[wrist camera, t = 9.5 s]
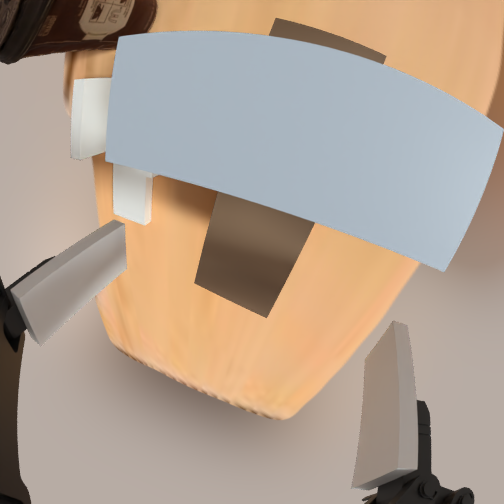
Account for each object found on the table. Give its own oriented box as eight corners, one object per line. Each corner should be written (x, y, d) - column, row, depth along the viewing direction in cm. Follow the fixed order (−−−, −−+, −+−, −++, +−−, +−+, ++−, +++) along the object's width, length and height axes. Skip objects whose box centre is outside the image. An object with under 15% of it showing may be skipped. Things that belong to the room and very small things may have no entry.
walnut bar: (303, 54, 15) (275, 17, 8) (368, 79, 14) (386, 56, 7) (241, 227, 22) (194, 282, 16) (293, 250, 22) (266, 318, 15)
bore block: (234, 65, 16) (118, 36, 7) (416, 116, 14) (503, 129, 5) (221, 129, 19) (105, 161, 9) (394, 183, 17) (444, 272, 7)
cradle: (107, 77, 19) (74, 79, 15) (194, 79, 17) (163, 77, 14) (102, 203, 26) (74, 218, 22) (175, 229, 24) (149, 250, 21)
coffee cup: (169, -36, 12) (50, -78, 1) (178, 36, 16) (30, 13, 5) (97, 6, 15) (-15, 2, 4) (102, 72, 19) (-23, 90, 8)
